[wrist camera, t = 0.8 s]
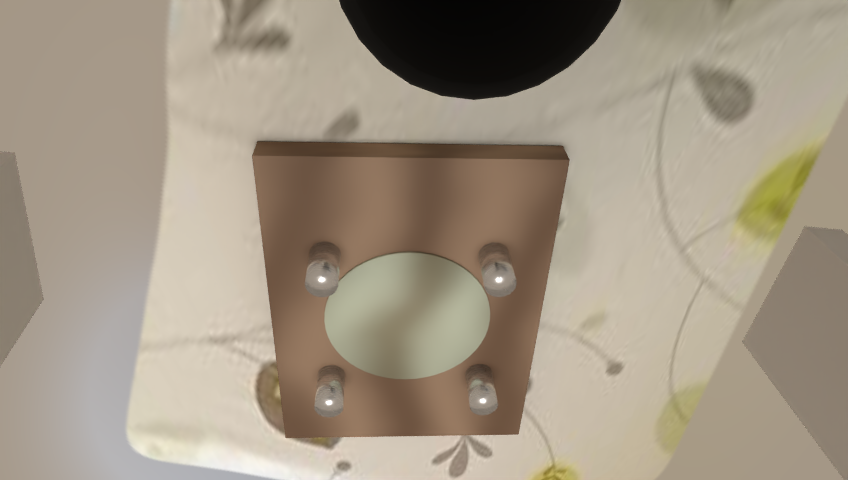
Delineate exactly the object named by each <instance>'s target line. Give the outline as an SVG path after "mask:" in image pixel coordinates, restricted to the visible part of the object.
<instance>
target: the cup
mask: <svg viewBox="0 0 848 480" xmlns="http://www.w3.org/2000/svg"><path fill="white" fill-rule="evenodd" d="M339 1H340V4H341V8H342V9H343V11H344V13H345V15H346V17H347V18H348V20H349V22H350V24H351V26H352V27H353V29H354V31H355V33H356V35H357V37H358V38H359V40H360V41H361V42H362V43H363V44H364V45H365V46H366V47H367V49H368V50H369V51H370V52H371V53H372V54H373V55H374V56H375V57H376V59H377V60H378V61H379V62H380V63H381V64H382V65H383V66H384V67H386V68H387V69H389V70H390V71H392V72H393V73H395V74H396V75H398V76H399V77H401V78H402V79H404V80H405V81H407V82H408V83H410V84H411V85H414V86H417V87H419V88H422V89H425V90H427V91H430V92H433V93H435V94H438V95H441V96H448V97H456V98H464V99H472V100H476V99H485V98H494V97H503V96H509V95H512V94H514V93H517V92H520V91H523V90H526V89H529V88H532V87H535V86H538V85H540V84H541V83H543V82H545V81H546V80H548V79H550V78H551V77H553V76H555V75H556V74H558V73H560V72H561V71H563V70H564V69H566V68H568V67H569V66H570V65H571V64H572V63H573V62H574V61H575V60H577V59H578V58H579V57H580V56H581V55H582V54H583V53H584V52H585V51H586V50H587V49H588V48H589V47H590V46H591V45H592V44H594V43H595V41H596V40H597V39H598V37H599V36H600V34H601V33H602V31H603V30H604V29H605V27H606V26H607V24H608V23H609V21H610V20H611V19H612V17H613V16H614V14H615V13H616V11H617V9H618V7H619V4H620V2H621V0H339Z"/></svg>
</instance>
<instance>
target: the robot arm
mask: <svg viewBox="0 0 848 480" xmlns="http://www.w3.org/2000/svg"><path fill="white" fill-rule="evenodd" d="M42 301H43V294H42V289H41V284H40V279H39V274H38V269H37V263H36V258H35V253H34V249H33V244H32V238H31V233H30V228H29V223H28V218H27V213H26V207H25V202H24V197H23V192H22V187H21V183H20V177H19V172H18V167H17V161H16V156H15V153H12V152H2V151H0V366H1V365H2V363H3V362H4V360H5V358H6V357H7V355H8V354H9V352H10V351H11V349H12V348H13V346H14V344H15V343H16V341H17V340H18V338H19V337H20V335H21V334H22V332H23V330H24V329H25V327H26V326H27V324H28V323H29V321H30V319H31V318H32V316H33V315H34V313H35V312H36V310H37V309H38V307H39V306H40V304H41V303H42ZM742 342H743V344H744V345H745V346H746V348H747V349H748V351H749V352H750V353H751V354H752V356H753V357H754V359H755V360H756V361H757V363H758V364H759V365H760V367H761V368H762V369H763V371H764V372H765V374H766V375H767V376H768V378H769V379H770V380H771V382H772V383H773V384H774V386H775V387H776V388H777V390H778V391H779V392H780V394H781V395H782V396H783V398H784V399H785V401H786V402H787V403H788V405H789V406H790V407H791V409H792V410H793V411H794V413H795V414H796V415H797V417H798V418H799V420H800V421H801V422H802V424H803V425H804V426H805V428H806V429H807V430H808V432H809V433H810V434H811V436H812V437H813V438H814V440H815V441H816V443H817V444H818V445H819V447H820V448H821V449H822V451H823V452H824V453H825V455H826V456H827V457H828V459H829V460H830V461H831V463H832V464H833V466H834V467H835V468H836V470H837V471H838V472H839V474H840V475H841V476H842V478H843V479H844V480H848V234H847V233H845V232H844V231H843V230H838V229H828V228H817V227H807V226H806V227H804V229H803V230H802V233H801V234H800V236H799V238H798V240H797V242H796V243H795V245H794V247H793V249H792V251H791V253H790V254H789V257H788V258H787V260H786V262H785V264H784V266H783V267H782V269H781V271H780V273H779V275H778V277H777V278H776V280H775V282H774V284H773V286H772V288H771V290H770V291H769V293H768V295H767V297H766V299H765V301H764V302H763V304H762V306H761V308H760V310H759V312H758V313H757V315H756V317H755V319H754V321H753V323H752V325H751V327H750V328H749V330H748V332H747V334H746V336H745V337H744V339H743V341H742Z"/></svg>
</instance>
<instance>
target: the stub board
mask: <svg viewBox="0 0 848 480" xmlns="http://www.w3.org/2000/svg"><path fill="white" fill-rule="evenodd" d="M252 158H253V166H254V175H255V183H256V192H257V200H258V209H259V217H260V225H261V234H262V242H263V251H264V259H265V268H266V276H267V285H268V293H269V301H270V310H271V318H272V327H273V335H274V344H275V352H276V361H277V369H278V377H279V386H280V394H281V403H282V411H283V420H284V428H285V437H286V438H313V437H379V436H445V435H511V434H519V429H520V423H521V418H522V413H523V407H524V402H525V396H526V391H527V386H528V380H529V375H530V370H531V364H532V359H533V354H534V348H535V343H536V338H537V332H538V327H539V322H540V316H541V311H542V305H543V300H544V295H545V289H546V284H547V279H548V273H549V268H550V263H551V257H552V252H553V247H554V241H555V236H556V231H557V225H558V220H559V214H560V209H561V204H562V198H563V193H564V188H565V182H566V177H567V172H568V166H569V161H570V160H569V158H568V156H567V154H566V152H565V150H564V148H563V146H528V145H461V144H393V143H325V142H257V144H256V147H255V149H254V152H253V155H252Z"/></svg>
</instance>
